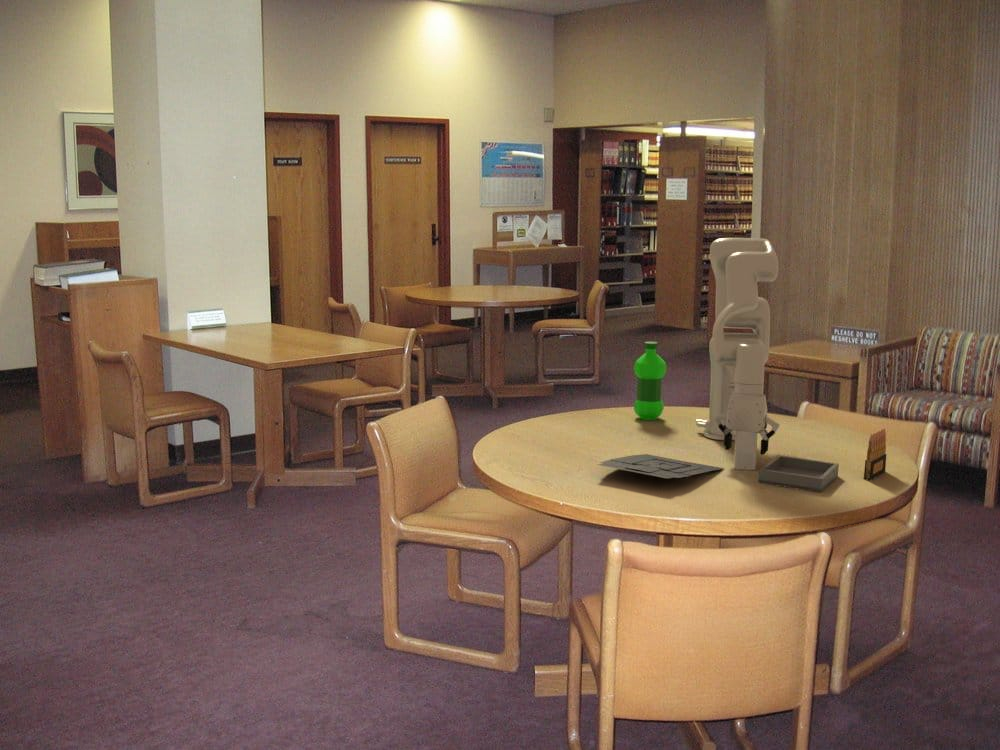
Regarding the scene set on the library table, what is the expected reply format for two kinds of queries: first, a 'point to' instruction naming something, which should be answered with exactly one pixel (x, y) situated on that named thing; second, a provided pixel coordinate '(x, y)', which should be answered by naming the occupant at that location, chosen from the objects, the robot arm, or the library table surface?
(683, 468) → the dark grey grooved panel
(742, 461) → the small box
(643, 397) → the plastic bottle
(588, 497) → the library table surface
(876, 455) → the ammunition clip
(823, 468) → the tray
